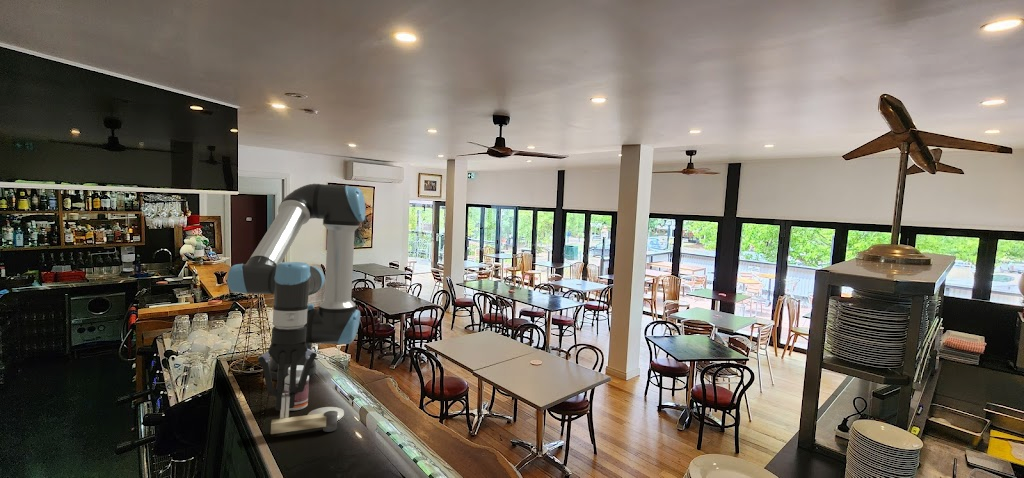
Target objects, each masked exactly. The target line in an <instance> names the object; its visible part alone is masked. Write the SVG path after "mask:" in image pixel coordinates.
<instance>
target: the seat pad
mask: <svg viewBox="0 0 1024 478" xmlns="http://www.w3.org/2000/svg"><path fill="white" fill-rule="evenodd" d="M328 411H337V412H338V417H337V421H338V420H340V419H341V418H342V417H343V416H344V417H345V411H344V409H343V408H341V407H336V406H325V407H324V406H323V407H319V408H315V409H312V410H311V411H309V412H308V413H307V415H313V414H321V413H325V412H328ZM344 417H343V418H344ZM341 420H342V419H341ZM341 420H340V421H341ZM338 422H339V421H338Z"/></svg>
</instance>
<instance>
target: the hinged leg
mask: <svg viewBox="0 0 1024 478" xmlns="http://www.w3.org/2000/svg"><path fill="white" fill-rule="evenodd" d="M337 417H338V412H337V411H328V412H325V413H321V414H313V415H308V414H307V415H299V416H291V417H290V416H289V418H282V419H280V418H274V419H271V423H270V435H275V434H281V433H282V434H283V433H287V432H297V431H303V430H304V431H305V430H310V429H319V428H322V430H323V432H325V433H331V432H334V431H336V430H337V429H338V422H337Z"/></svg>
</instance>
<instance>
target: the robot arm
mask: <svg viewBox="0 0 1024 478" xmlns="http://www.w3.org/2000/svg"><path fill="white" fill-rule="evenodd" d="M365 201H366V200H365V197H364V193H363V191H362V190H361V188H359V187H356V186H349V185H341V184H340V185H339V184H338V185H337V184H320V183H311V184H310V183H309V184H306V185H303V186H300V187H299V188H297V189H294V190H293V191H292V192H290V193H289V194H287V195H286V196H285V197H284V198H283V199H282V201H281V202H280V203H279V205H278V207H277V213H278V214H277V215H276V217H275V218H274V220H272V221H273V222H272V223H271V224H270V226H269V227H268V229H267V231H266V233H265V234H264V236H263V237H262V239H261V240H260V241H259V243H258V245H257V247H256V248H255V249H254V251H253V253H252V254H251V256H250V257H249V259H248V260H247V262H246V263H238V264H233V265H232V266H231V267H230V268H229V269H228V271H227V272H228V273H227V276H226V283H227V286H228V289H229V290H230V291H231V292H232V293H237V294H246V295H251V294H252V295H254V294H255V295H257V294H258V295H273V307H272V308H273V309H272V321H271V322H272V325H273V327H272V328H271V340H270V341H271V343H270V346H269V347H268V351H266V352H264V353H263V354H259V355H258V357H257V362H258V363H259V365H260V366H261V367H262V371H263V375H264V380H265V387H266V391H267V395H268V396H270V397H271V396H273V397H275V410H276V411H280V413H279V419H282V418H290V411H289V408H294V403H295V395H296V394H297V393H299V392H303V390H304V387H305V384H306V380H307V377H308V376H309V377H312V376H313V375H315V374H316V372H317V363H316V360H315V359H316V358H317V352H316V351H315V350H313V349H312V348H313V347H312V346H313V344H318V345H319V344H320V345H321V344H323V345H348V344H352V342H354V340H355V339H356V337H357V334H358V329H359V326H360V320H361V311H360V310H359V309H356V303H355V301H353V300H352V293H353V290H352V289H353V288H352V287H353V271H354V253H355V252H354V250H355V249H354V248H355V231H357V229H358V228H359V227H360V226H361V225H360V223H361V222H364V221H365V219H366V212H367V211H366V210H367V209H366V202H365ZM310 219H319V220H322V225H323V226H324V227H325V228H326V230H327V234H326V235H327V236H326V254H325V255H326V257H325V260H326V261H325V274H324V272H323V271H322V270H321V269H320V268H318V267H317V266H314V265H313V266H310V264H309V263H307V262H300V261H299V262H298V261H286V262H285V261H284V259H285V257H286V255H287V254H288V251H289V249H290V248H291V246H292V245H293V243H294V240H295V239H296V237H297V236H298V234H299V231H300V230H301V228H302V226H303V225H305V224H307V223H308V222H309V220H310ZM283 261H284V262H283ZM323 287H324V297H323V301H322V302H320V304H318V308H315V304H313V303H309V296H311V295H313V294H316V293H319V292H318V291H320V290H321V289H322V288H323ZM297 365H304V367H303V370H302V374H301V377H300V380H299V383H298V386H296V368H297ZM289 367H290V385H289V393H286V399H285V393H284V392H283V391H284V382H285V378H286V376H288V375H289V374H288V368H289ZM273 381H276V387H275V388H274V384H273Z"/></svg>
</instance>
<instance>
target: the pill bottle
mask: <svg viewBox="0 0 1024 478" xmlns="http://www.w3.org/2000/svg"><path fill="white" fill-rule="evenodd" d="M303 367H304V365H297V368H296V386H298V383H299V380H300V377H301V374H302V370H303ZM288 374H289V375H288V376H286V378H285V381H283V394H284V393H285V399H286V393H289V385H290V367H289V368H288ZM309 386H310V376H308V377H307V380H306V384H305V387H304V390H303V392H299V393H297V394H296V395H295V403H294V408H289V412H290V411H291V412H292V411H299V410H300V411H301V410H303V409H306V407H308V404H309V403H308V402H309V388H310V387H309Z"/></svg>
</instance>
